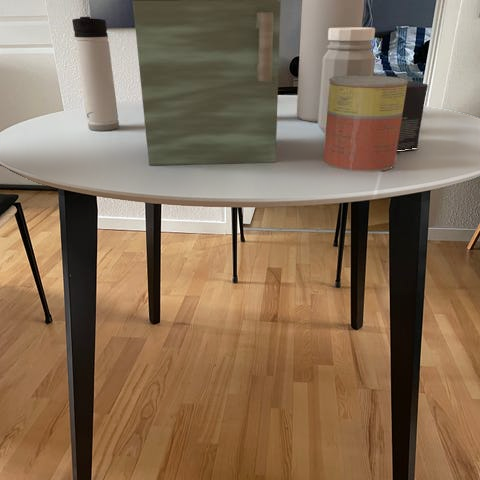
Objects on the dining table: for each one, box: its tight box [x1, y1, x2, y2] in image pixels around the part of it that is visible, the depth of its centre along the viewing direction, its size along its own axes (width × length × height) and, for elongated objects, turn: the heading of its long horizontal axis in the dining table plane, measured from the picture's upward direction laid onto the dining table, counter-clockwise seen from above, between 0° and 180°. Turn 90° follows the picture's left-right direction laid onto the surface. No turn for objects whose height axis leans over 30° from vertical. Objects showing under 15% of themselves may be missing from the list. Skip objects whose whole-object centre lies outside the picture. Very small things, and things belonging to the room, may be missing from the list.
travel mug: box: [71, 16, 120, 132], centre depth 99 cm, size 6×7×20 cm
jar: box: [317, 26, 377, 134], centre depth 96 cm, size 10×10×18 cm
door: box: [132, 0, 282, 166], centre depth 71 cm, size 6×20×22 cm, turn 94°
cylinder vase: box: [296, 0, 366, 123], centre depth 107 cm, size 12×12×25 cm
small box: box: [397, 80, 429, 150], centre depth 87 cm, size 11×6×10 cm, turn 21°
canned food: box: [322, 75, 409, 173], centre depth 76 cm, size 11×11×12 cm
